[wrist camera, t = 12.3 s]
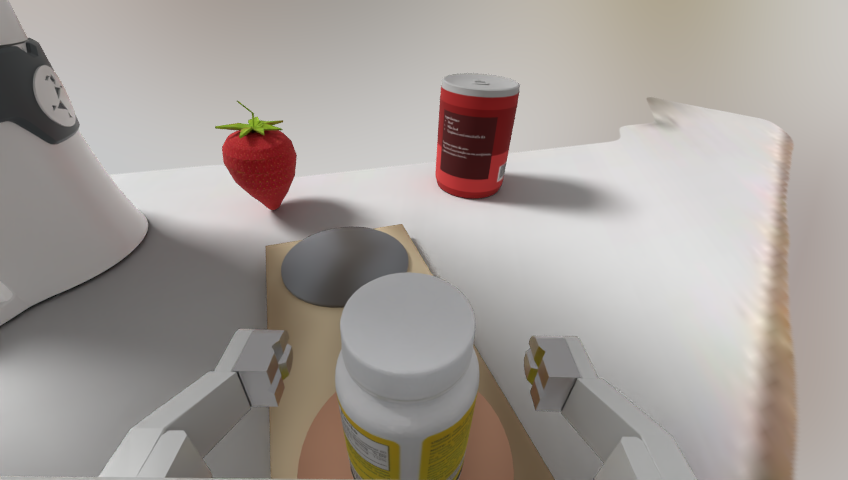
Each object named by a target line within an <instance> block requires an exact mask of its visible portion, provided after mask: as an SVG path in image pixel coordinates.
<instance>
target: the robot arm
mask: <svg viewBox="0 0 848 480" xmlns="http://www.w3.org/2000/svg"><path fill="white" fill-rule="evenodd" d="M147 230H148V221H147V219H146V217H145V216H144V215H143V214H142V213H141V212H140V211H139V210H138V209H137V208H136V207H135V206H134V205H133V204H132V203H131V201H130V200H129V199H128V198H127V197H126V196H125V195H124V193H123V192H122V191H121V190H120V189H119V187H118V186H117V185H116V184H115V182H114V181H113V180H112V178H111V177H110V176H109V174H108V173H107V172H106V170H105V169H104V168H103V166H102V165H101V163H100V162H99V160H98V159H97V157H96V156H95V154H94V153H93V152H92V150H91V148H90V147H89V146H88V144H87V143H86V141H85V139H84V137H83V136H82V134H81V133H80V131H79V122H78V120H77V117H76V115H75V112H74V109H73V106H72V104H71V101H70V99H69V96H68V94H67V92H66V90H65V88H64V86H63V85H62V82H61V81H60V79H59V77H58V76H57V74H56V73H55V72H54V70H53V68H52V66H51V64H50V62H49V61H48V59H47V57H46V55H45V53H44V52H43V50H42V48H41V46H40V44H39V43H38V42H36V41H35V40H33V39H31V38H27V36H26V34H25V32H24V30H23V28H22V26H21V24H20V22H19V20H18V18H17V16H16V14H15V12H14V10H13V8H12V6H11V5H10V3H9V1H8V0H0V325H2V324H4V323H5V322H7V321H8V320H10V319H12V318H13V317H15V316H16V315H18V314H19V313H21V312H23V311H24V310H26V309H27V308H29V307H30V306H32V305H34V304H36V303H38V302H41V301H43V300H45V299H47V298H49V297H52V296H54V295H56V294H59V293H61V292H63V291H66V290H68V289H70V288H73V287H75V286H77V285H79V284H81V283H83V282H85V281H87V280H89V279H91V278H93V277H95V276H97V275H99V274H100V273H102V272H104V271H105V270H107V269H109V268H110V267H112V266H113V265H115V264H116V263H118V262H119V261H121V260H122V259H123V258H125V257H126V256H127V255H128V254H130V253H131V252H132V251H133V250H134V249H135V248H136V247H137V246H138V245H139V244H140V242H141V241H142V240H143V238H144V237H145V235H146V233H147ZM288 340H289V334H288V331H285V330H266V329H238V330H237V331H236V332H235V334H234V335H233V337H232V339H231V341H230V343H229V344H228V346H227V348H226V350H225V352H224V354H223V355H222V357H221V359H220V361H219V363H218V364H217V366H216V368H215V370H214V371H209V372H207V373H206V374H205V375H203V376H202V377H200V378H199V379H198V380H196V381H195V382H194V383H192V384H191V385H190V386H188V387H187V388H185V389H184V390H183V391H181V392H180V393H179V394H177V395H176V396H174V397H173V398H172V399H170V400H169V401H168V402H166V403H165V404H163V405H162V406H161V407H159V408H158V409H157V410H155V411H154V412H152V413H151V414H150V415H148V416H147V417H146V418H144V419H143V420H141V421H140V422H139V423H137V424H136V425H135V426H133V427H132V428H131V429H130V430H129V432H128V433H127V435H126V436H125V438H124V439H123V441H122V442H121V444H120V445H119V447H118V448H117V450H116V451H115V452H114V454H113V455H112V457H111V458H110V460H109V461H108V463H107V464H106V466H105V467H104V469H103V470H102V472H101V473H100V475H99V476H98V477H48V476H0V480H366V479H251V478H212V474H211V471H210V470H209V468H208V466H207V465H206V463H205V462H204V460H203V458H204V457H205V456H206V455H207V454H208V453H209V452H210V451H211V450H212V449H213V447H214V446H215V445H216V444H217V443H218V442H219V441H220V440H221V439H222V438H223V437H224V436H225V435H226V434H227V433H228V432H229V431H230V430H231V429H232V428H233V427H234V426H235V425H236V424H237V423H238V422H239V421H240V420H241V419H242V417H243V416H244V415H245V414H246V413H247V412H248V411H249V410H250V409H251V407H278V406H279V403H280V400H281V397H282V394H283V391H284V389H285V386H284V383H283V380H284V379H285V378H286V377H288V376H289V374H290V371H291V368H292V362H293V350H292V346H290V345H289V344H288ZM529 345H530V349H529V350H528V351H526V354H525V357H524V369H525V375H526V378H527V380H528V381H529V382H530V383H531V384H532V388H531V391H530V393H531V396H532V400H533V403H534V407H535V410H536V411H554V412H561V414H562V415H563V416H564V417H565V418H566V419H567V421H568V422H569V423H570V424H571V425H572V426H573V428H574V429H575V430H576V431H577V432H578V433H579V435H580V436H581V437H582V438H583V439H584V441H585V442H586V443H587V444H588V445H589V446H590V448H591V449H592V450H593V451H594V452H595V453H596V455H597V456H598V457H599V458H600V459H601V460H602V462H603V463H604V464H603V466H602V467H601V469H600V470H599V472H598V473H597V475H596V476H595V478H594V480H697V478H696V477H695V475H694V473H693V471H692V470H691V468H690V466H689V464H688V463H687V461H686V459H685V457H684V456H683V454H682V452H681V450H680V449H679V447H678V445H677V443H676V442H675V440H674V438H673V436H671V435H670V434H669V433H668V432H667V431H665V430H664V429H663V428H662V427H661V426H659V425H658V424H657V423H656V422H655V421H653V420H652V419H651V418H650V417H649V416H647V415H646V414H645V413H644V412H643V411H641V410H640V409H639V408H638V407H637V406H635V405H634V404H633V403H632V402H630V401H629V400H628V399H627V398H626V397H624V396H623V395H622V394H621V393H620V392H618V391H617V390H616V389H615V388H614V387H612V386H611V385H610V384H609V383H608V382H606V381H605V380H604V379H599V378H598V376H597V374H596V372H595V370H594V368H593V365H592V363H591V361H590V359H589V357H588V355H587V353H586V351H585V349H584V347H583V344H582V342H581V340H580V339H579V338H578V337H577V336H532V337H531V338H530V341H529Z"/></svg>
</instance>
